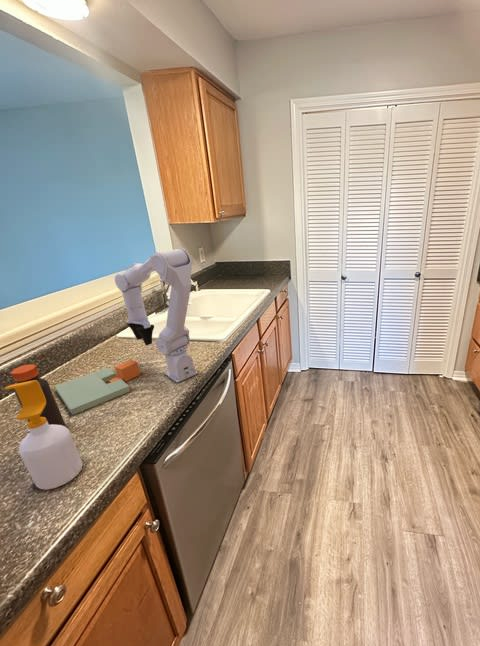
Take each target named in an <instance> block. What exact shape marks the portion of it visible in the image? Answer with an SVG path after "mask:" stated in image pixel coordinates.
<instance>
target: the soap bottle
mask: <svg viewBox="0 0 480 646" xmlns="http://www.w3.org/2000/svg"><path fill="white" fill-rule="evenodd" d="M11 389H14V391H15V390H16V392H17V394H18V396H19V398H20V401H21V403H22V407H21V410H20V411H19V412H18V414H17V416H16V420H18V421H22V420H27V419H28V420H29V419H30V422H28V420H27V423H26V427H27V430H28V431H29V433H27V435H25V437H24V438H23V439H22V440H21V442H20V444H19V445H18V452H19V455H20V457H21V459H22V461H23V463H24V465H25V467H26V469H27V471H28V473H29V475H30V477H31V479H32V481H33V483H34V485H35V487H36V488H38V489H40V490H52V489H56V488H59V487H61V486H64V485H65V484H67V483H69V482H71V481H73V479H74V478H75V477H77V476H78V475H79V474H80V473H81V471H82V469H83V465H84V463H83V460H82V458H81V455H80V453H79V450H78V447H77V446H76V443H75V441H74V438H73V436H72V434H71V431H70V429H69V428H68V427H67V426H66V427H65V426H62V425H49V424H48V422H47V419H46V418H45V417H40V415H41V413H42V411H43V409H44V407H45V405H46V398H45V396H44V394H43V391H42V389H41V387H40V384H39V382H38V381H37V380H33V381H28V382H23V383H14V384H13V383H12V384H10V385H8V386H5V387H4V391H8V390H11Z"/></svg>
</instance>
